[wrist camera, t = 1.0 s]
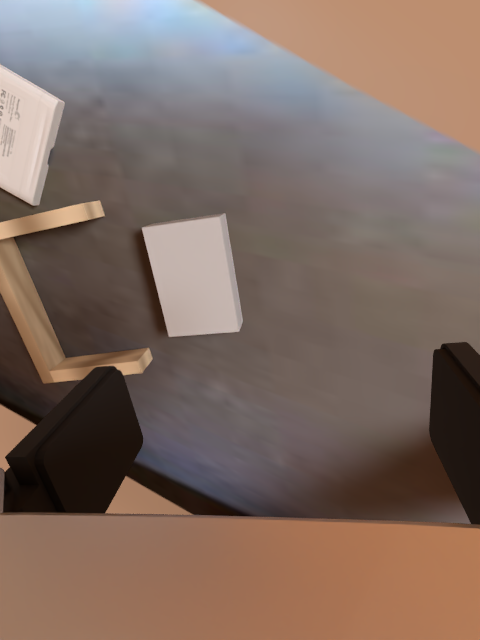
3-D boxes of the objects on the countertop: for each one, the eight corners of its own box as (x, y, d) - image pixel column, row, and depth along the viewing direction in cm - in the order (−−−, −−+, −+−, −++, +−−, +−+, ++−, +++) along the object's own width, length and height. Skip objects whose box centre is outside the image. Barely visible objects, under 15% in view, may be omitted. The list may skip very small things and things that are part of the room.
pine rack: (99, 200, 28) (82, 203, 26) (152, 358, 33) (141, 373, 31) (-5, 224, 31) (-30, 229, 28) (60, 369, 36) (43, 383, 33)
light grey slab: (226, 212, 28) (219, 216, 25) (243, 319, 31) (239, 331, 29) (154, 223, 29) (141, 227, 26) (178, 324, 32) (169, 336, 30)
